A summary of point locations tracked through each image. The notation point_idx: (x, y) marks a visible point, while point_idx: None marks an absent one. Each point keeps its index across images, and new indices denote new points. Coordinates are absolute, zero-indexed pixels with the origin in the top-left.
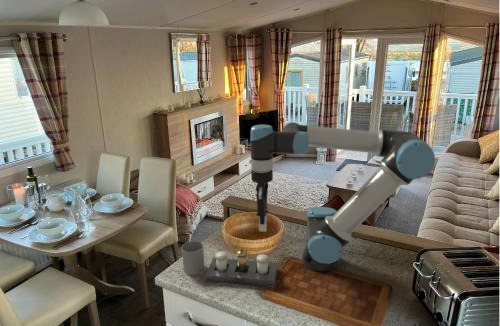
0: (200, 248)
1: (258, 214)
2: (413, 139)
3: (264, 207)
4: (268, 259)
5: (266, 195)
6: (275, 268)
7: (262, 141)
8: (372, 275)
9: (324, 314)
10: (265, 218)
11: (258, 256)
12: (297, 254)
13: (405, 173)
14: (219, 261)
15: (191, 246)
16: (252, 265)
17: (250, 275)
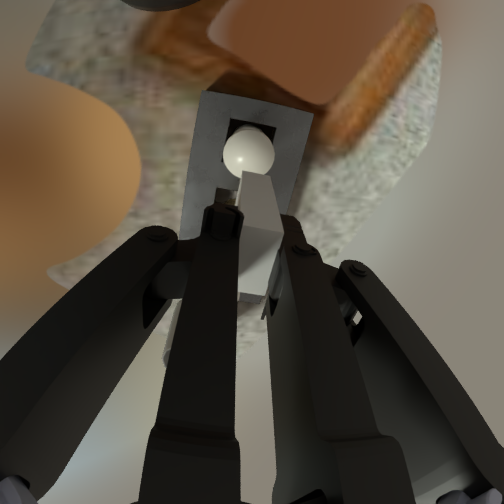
0: (170, 336)
1: (353, 328)
2: None
3: (414, 344)
4: (258, 131)
5: (404, 489)
6: (241, 99)
7: None
8: None
9: (423, 24)
10: (278, 222)
11: (239, 171)
12: (121, 26)
13: None
14: None
15: (168, 355)
16: (216, 177)
17: (275, 186)
